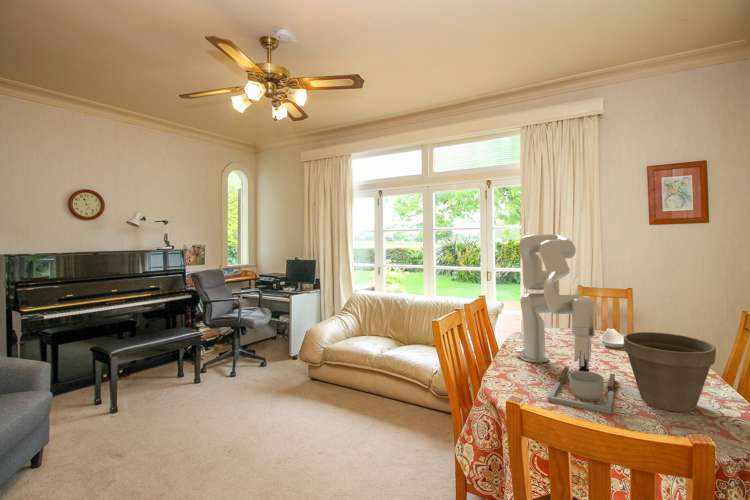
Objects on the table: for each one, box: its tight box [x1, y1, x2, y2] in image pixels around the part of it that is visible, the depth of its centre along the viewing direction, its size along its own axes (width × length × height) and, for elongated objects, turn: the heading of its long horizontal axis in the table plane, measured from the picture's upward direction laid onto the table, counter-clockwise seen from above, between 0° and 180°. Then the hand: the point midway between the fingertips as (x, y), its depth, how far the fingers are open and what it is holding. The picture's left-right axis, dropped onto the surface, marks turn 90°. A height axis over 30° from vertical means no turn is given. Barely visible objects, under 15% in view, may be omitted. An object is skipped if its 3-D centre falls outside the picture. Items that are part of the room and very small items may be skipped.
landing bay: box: [547, 381, 615, 415], centre depth 133 cm, size 19×17×2 cm
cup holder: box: [558, 366, 616, 393], centre depth 148 cm, size 18×15×2 cm
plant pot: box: [623, 331, 717, 413], centre depth 127 cm, size 25×25×22 cm
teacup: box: [567, 369, 605, 402], centre depth 135 cm, size 14×11×8 cm
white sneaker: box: [600, 328, 624, 349], centre depth 200 cm, size 24×12×7 cm, turn 155°
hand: (584, 378), depth 141 cm, fingers closed
